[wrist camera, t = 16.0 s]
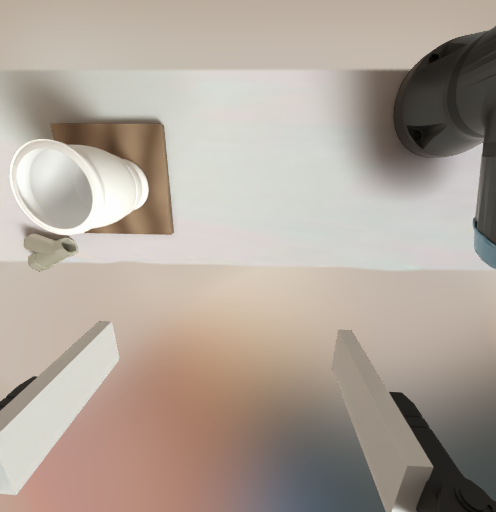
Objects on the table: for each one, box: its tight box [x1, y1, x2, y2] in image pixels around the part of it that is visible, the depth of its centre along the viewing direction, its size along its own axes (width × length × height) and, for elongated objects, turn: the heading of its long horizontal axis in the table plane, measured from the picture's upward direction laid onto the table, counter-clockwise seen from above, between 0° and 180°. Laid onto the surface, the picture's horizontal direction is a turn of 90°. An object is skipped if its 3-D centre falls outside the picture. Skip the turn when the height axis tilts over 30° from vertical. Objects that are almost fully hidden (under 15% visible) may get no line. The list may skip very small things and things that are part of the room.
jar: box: [10, 139, 149, 235], centre depth 34 cm, size 11×10×15 cm
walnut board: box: [51, 124, 174, 235], centre depth 41 cm, size 18×18×2 cm
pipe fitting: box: [24, 234, 78, 272], centre depth 45 cm, size 8×4×7 cm
